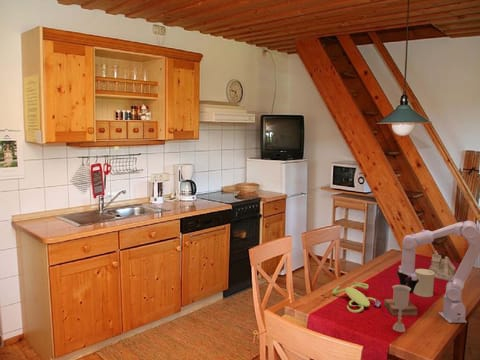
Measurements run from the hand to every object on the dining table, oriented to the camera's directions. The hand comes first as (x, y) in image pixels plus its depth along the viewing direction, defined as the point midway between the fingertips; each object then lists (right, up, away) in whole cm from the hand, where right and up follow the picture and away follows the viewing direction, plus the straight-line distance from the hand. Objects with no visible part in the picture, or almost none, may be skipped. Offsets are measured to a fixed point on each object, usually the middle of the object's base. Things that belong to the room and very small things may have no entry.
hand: (406, 289), depth 197 cm
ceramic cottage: (+39, -4, +47) cm, 61 cm away
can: (+16, -7, +20) cm, 26 cm away
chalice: (-10, -12, -18) cm, 24 cm away
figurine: (-20, -9, +11) cm, 25 cm away
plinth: (-3, -9, 0) cm, 10 cm away
